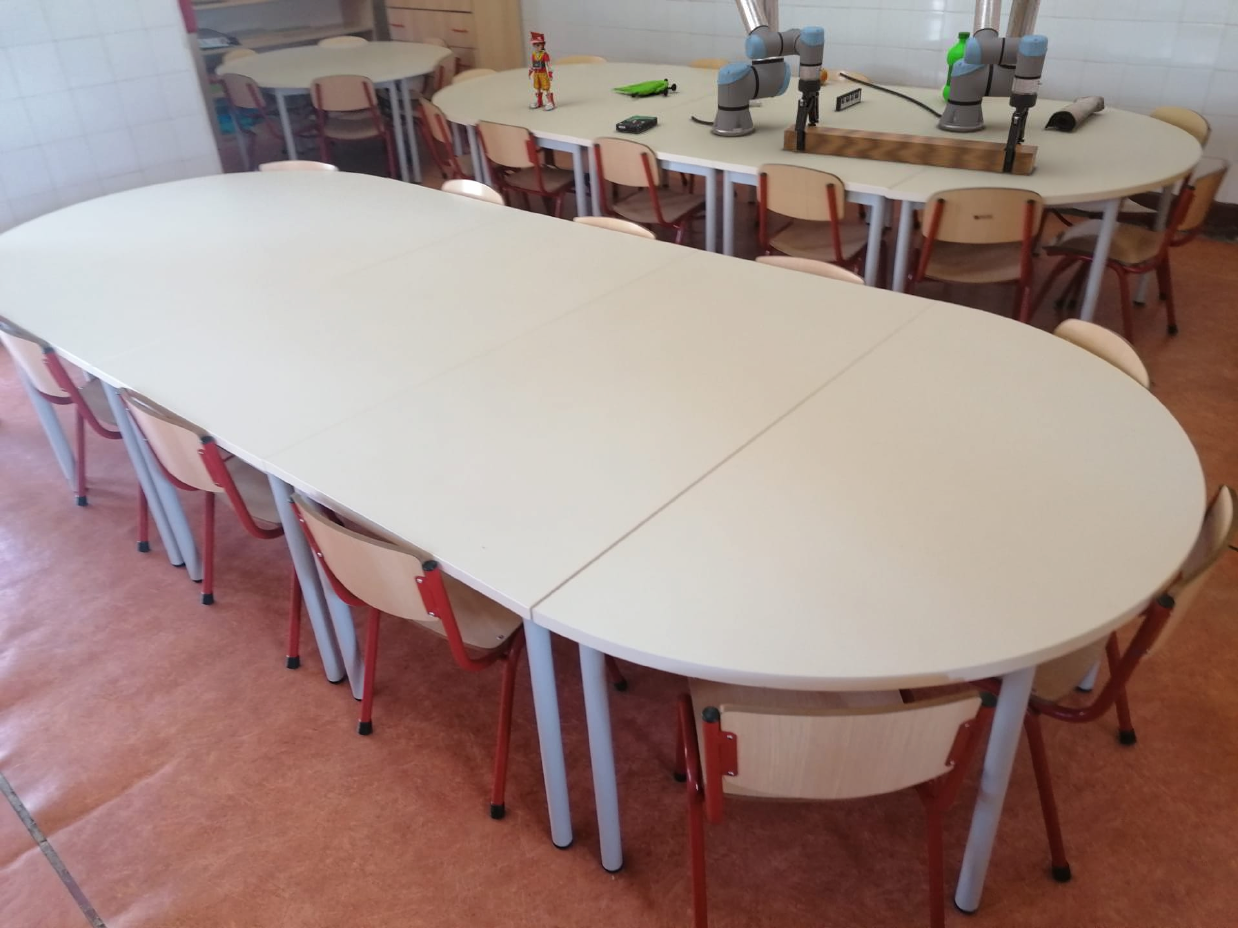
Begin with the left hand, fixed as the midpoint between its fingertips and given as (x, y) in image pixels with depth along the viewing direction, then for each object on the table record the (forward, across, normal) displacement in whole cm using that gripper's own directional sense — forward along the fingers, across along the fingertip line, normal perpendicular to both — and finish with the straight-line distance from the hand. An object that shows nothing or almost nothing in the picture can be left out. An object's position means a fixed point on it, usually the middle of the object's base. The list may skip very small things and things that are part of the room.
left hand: (805, 146), depth 313 cm
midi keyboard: (+1, +61, +5) cm, 61 cm away
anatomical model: (+1, +53, +46) cm, 70 cm away
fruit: (+1, +93, +30) cm, 98 cm away
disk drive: (+1, +4, +70) cm, 70 cm away
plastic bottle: (+1, +80, -32) cm, 86 cm away
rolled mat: (+1, +64, -78) cm, 101 cm away
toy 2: (+1, +57, +98) cm, 114 cm away
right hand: (0, 0, -68) cm, 68 cm away
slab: (+1, 0, -34) cm, 34 cm away
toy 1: (+1, +20, +126) cm, 127 cm away
